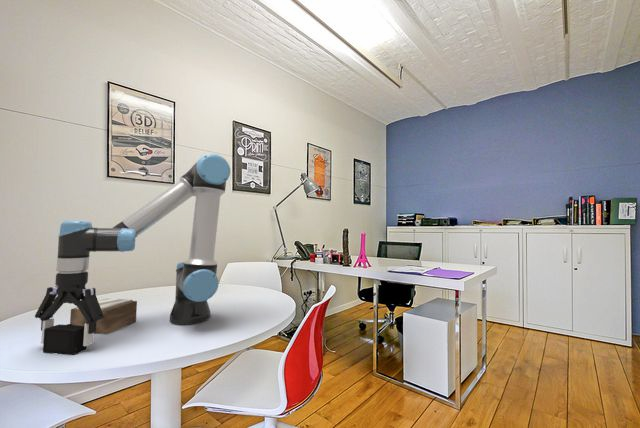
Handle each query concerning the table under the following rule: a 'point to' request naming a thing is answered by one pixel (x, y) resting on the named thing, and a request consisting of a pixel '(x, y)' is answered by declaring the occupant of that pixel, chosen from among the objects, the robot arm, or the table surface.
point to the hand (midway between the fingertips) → (67, 343)
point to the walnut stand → (109, 315)
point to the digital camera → (64, 339)
